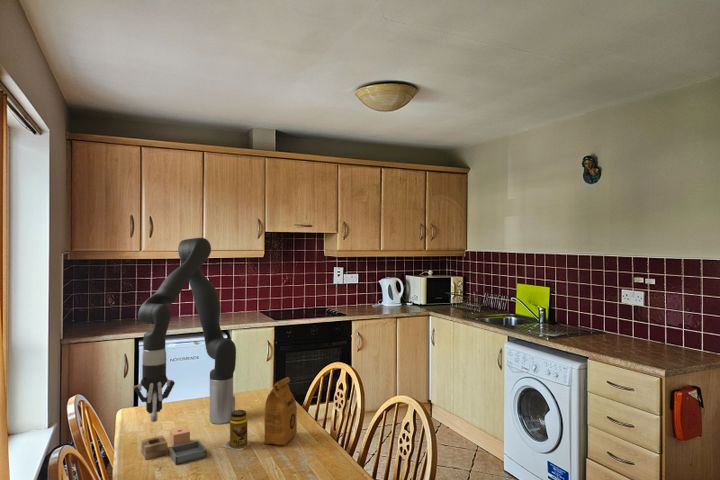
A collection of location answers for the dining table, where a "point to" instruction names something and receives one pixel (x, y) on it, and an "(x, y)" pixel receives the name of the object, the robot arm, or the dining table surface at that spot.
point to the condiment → (238, 431)
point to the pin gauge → (154, 406)
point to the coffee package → (280, 414)
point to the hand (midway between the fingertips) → (154, 411)
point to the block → (179, 436)
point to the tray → (187, 452)
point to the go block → (154, 447)
